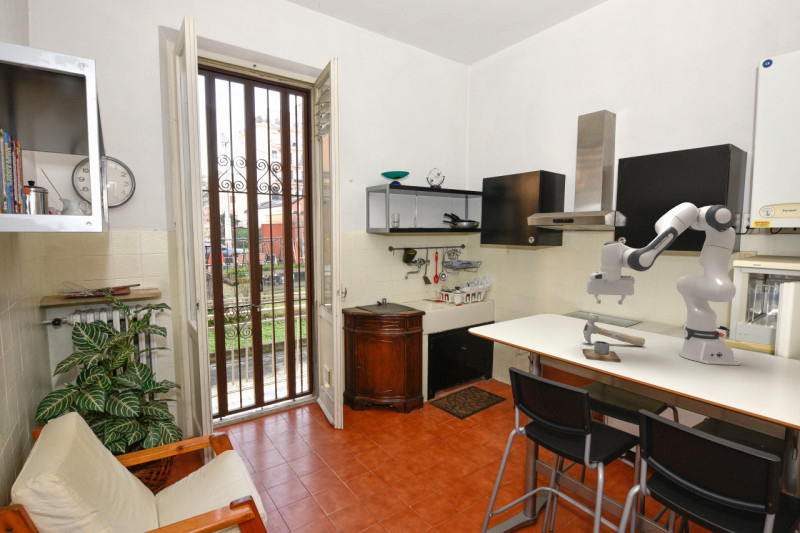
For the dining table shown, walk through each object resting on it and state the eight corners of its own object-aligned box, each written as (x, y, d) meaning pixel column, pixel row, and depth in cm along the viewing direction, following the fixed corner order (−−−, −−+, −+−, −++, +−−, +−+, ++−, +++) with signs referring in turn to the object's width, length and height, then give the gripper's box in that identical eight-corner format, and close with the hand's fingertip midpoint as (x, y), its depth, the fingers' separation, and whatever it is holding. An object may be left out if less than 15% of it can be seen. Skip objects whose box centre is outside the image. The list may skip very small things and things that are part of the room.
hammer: (644, 327, 212) (588, 312, 214) (649, 329, 208) (591, 314, 209) (635, 355, 214) (579, 340, 215) (640, 358, 209) (582, 343, 211)
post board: (614, 354, 196) (615, 341, 195) (620, 362, 184) (621, 348, 184) (582, 351, 199) (583, 338, 199) (586, 358, 188) (587, 345, 187)
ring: (606, 352, 194) (607, 341, 193) (609, 355, 188) (610, 345, 187) (593, 350, 195) (593, 340, 195) (595, 354, 189) (596, 343, 189)
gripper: (632, 274, 194) (631, 303, 195) (586, 274, 199) (585, 301, 201) (636, 276, 188) (635, 306, 189) (589, 275, 193) (587, 304, 195)
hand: (609, 303), depth 195 cm, fingers open, 8 cm apart
